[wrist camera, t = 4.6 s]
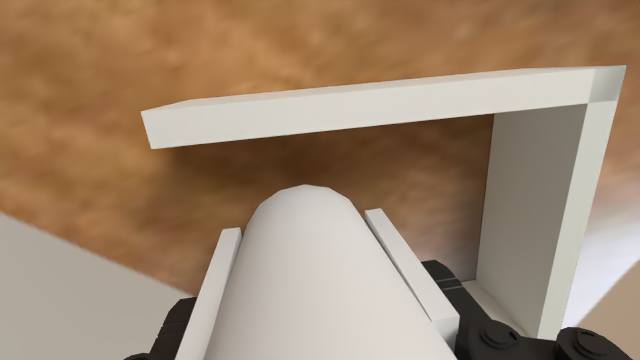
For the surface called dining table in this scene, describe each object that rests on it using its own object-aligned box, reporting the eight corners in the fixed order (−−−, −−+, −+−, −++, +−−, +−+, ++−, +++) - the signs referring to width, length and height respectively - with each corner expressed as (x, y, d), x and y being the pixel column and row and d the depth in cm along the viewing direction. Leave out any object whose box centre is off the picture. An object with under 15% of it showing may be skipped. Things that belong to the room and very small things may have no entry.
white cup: (370, 290, 16) (499, 608, 6) (241, 302, 15) (177, 682, 6) (377, 171, 13) (595, 394, 4) (226, 178, 13) (76, 470, 3)
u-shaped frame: (189, 99, 14) (140, 111, 9) (521, 68, 15) (626, 65, 11) (241, 330, 19) (227, 414, 14) (490, 291, 20) (553, 357, 15)
